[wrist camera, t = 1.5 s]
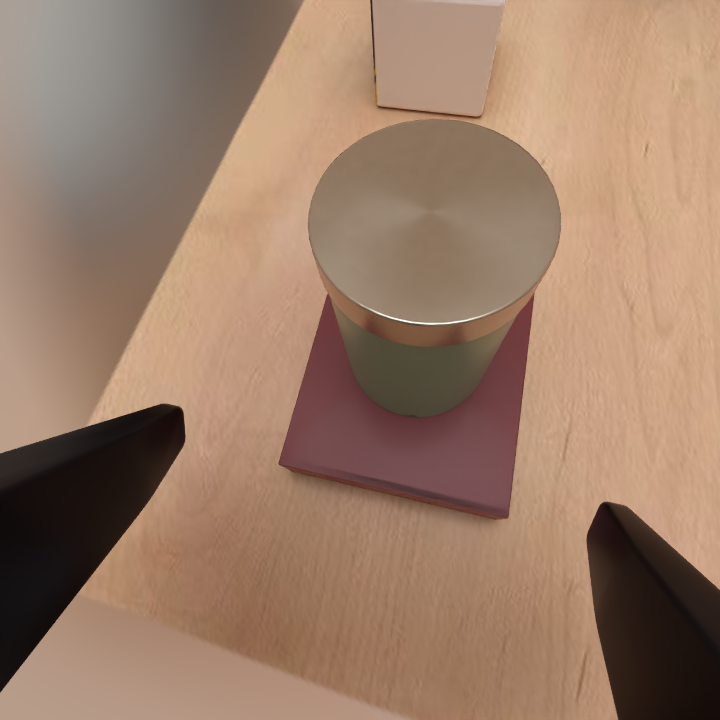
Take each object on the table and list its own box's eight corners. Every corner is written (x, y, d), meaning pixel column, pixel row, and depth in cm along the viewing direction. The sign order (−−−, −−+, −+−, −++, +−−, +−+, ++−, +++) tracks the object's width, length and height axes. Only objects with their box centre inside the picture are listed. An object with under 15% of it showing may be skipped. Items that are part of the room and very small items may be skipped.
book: (495, 519, 20) (508, 518, 18) (290, 470, 22) (277, 464, 20) (526, 277, 25) (539, 251, 22) (352, 250, 26) (347, 223, 24)
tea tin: (441, 448, 19) (481, 376, 10) (320, 371, 21) (258, 248, 12) (513, 331, 21) (605, 175, 12) (395, 268, 23) (393, 88, 13)
